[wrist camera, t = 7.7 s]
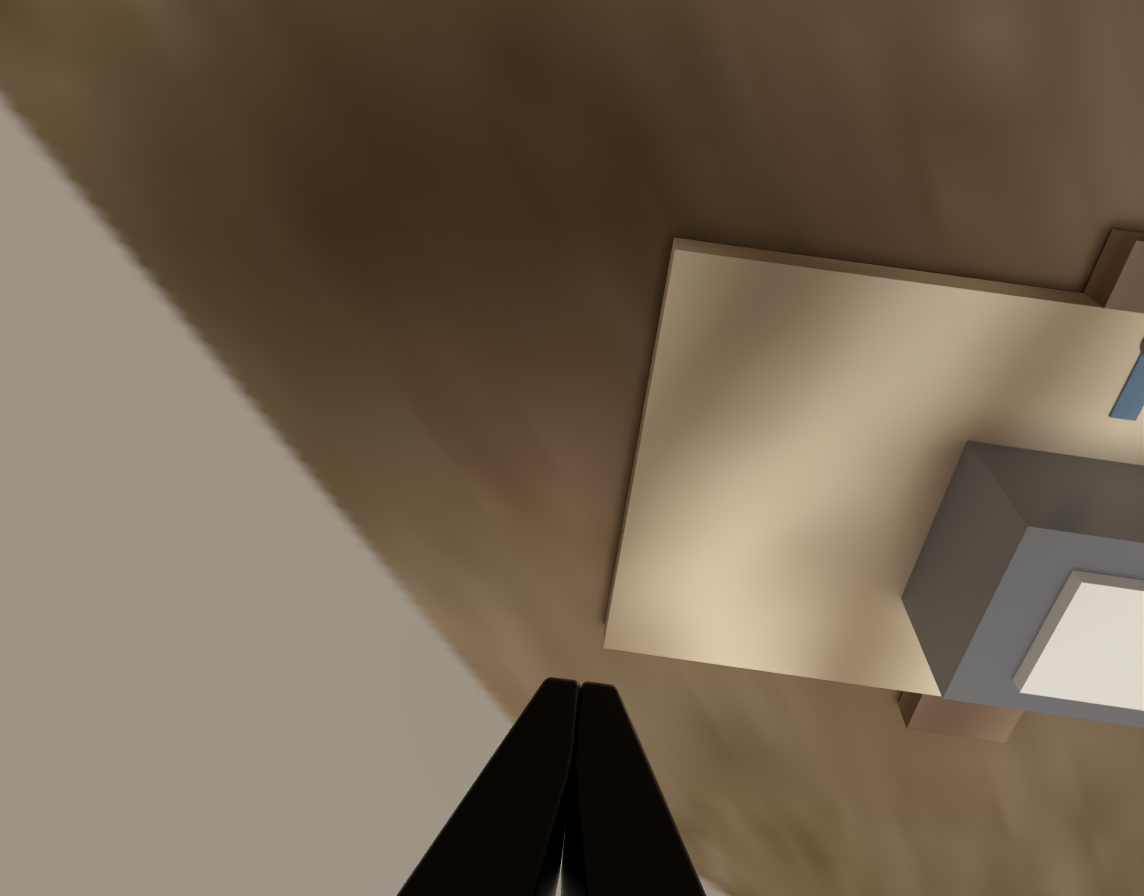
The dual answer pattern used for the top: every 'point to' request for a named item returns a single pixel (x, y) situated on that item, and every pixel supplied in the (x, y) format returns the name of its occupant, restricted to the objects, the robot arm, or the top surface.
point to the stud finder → (1036, 585)
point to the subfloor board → (847, 450)
